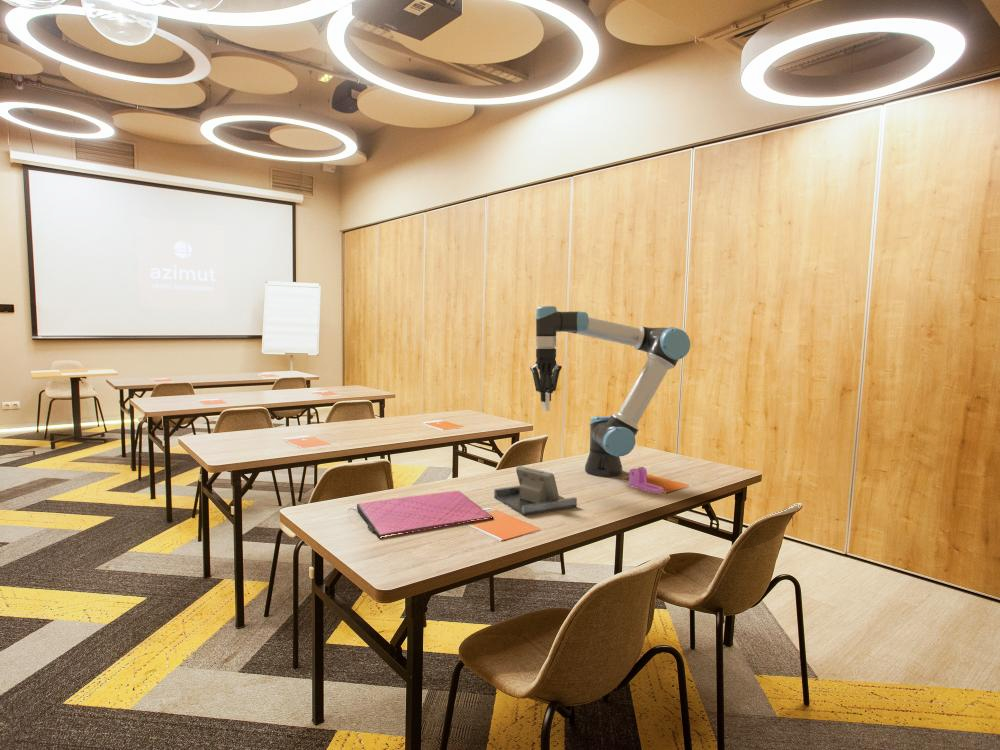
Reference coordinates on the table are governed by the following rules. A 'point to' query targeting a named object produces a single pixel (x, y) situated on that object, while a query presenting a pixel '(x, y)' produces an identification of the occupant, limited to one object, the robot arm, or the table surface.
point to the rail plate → (525, 508)
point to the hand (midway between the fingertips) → (545, 410)
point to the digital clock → (536, 485)
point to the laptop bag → (419, 512)
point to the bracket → (642, 480)
